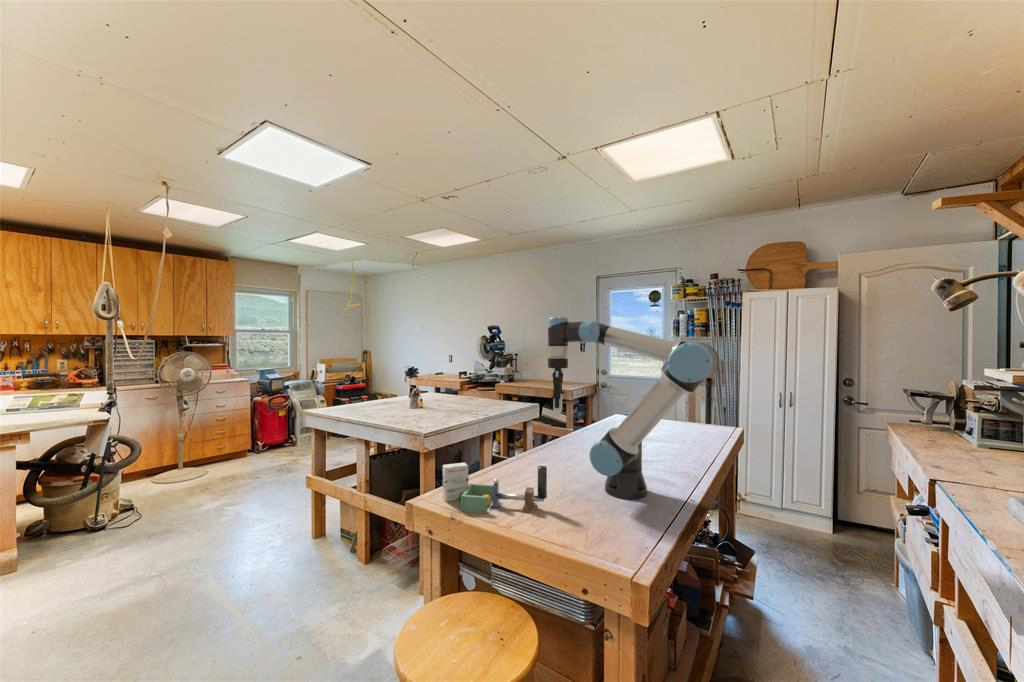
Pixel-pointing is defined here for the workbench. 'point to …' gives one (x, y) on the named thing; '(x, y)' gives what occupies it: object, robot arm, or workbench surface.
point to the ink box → (454, 481)
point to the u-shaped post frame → (541, 495)
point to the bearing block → (529, 501)
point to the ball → (488, 499)
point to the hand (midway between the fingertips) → (558, 413)
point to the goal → (476, 498)
